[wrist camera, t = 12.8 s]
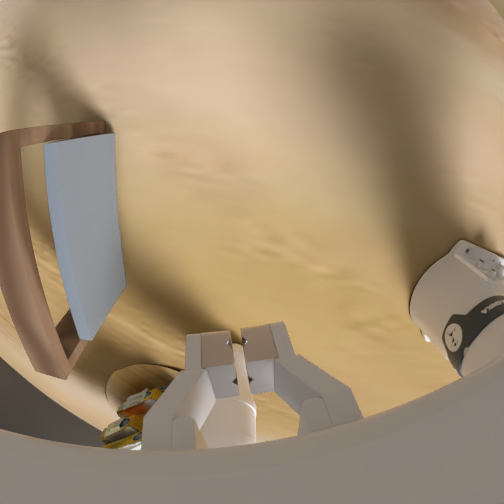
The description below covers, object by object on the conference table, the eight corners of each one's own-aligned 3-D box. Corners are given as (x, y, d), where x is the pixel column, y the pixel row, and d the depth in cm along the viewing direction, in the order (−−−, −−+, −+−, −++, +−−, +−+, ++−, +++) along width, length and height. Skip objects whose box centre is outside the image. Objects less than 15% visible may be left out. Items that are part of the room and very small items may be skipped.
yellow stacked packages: (84, 376, 48) (53, 441, 33) (185, 349, 44) (166, 438, 29) (155, 441, 57) (143, 500, 42) (250, 426, 53) (251, 497, 38)
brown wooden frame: (105, 121, 30) (7, 131, 14) (119, 292, 40) (66, 380, 24) (76, 124, 30) (-25, 140, 14) (93, 289, 40) (35, 371, 24)
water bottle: (233, 376, 47) (229, 517, 24) (199, 355, 45) (176, 503, 22) (264, 353, 45) (273, 506, 22) (228, 330, 42) (217, 494, 20)
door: (114, 133, 30) (57, 142, 19) (126, 285, 38) (91, 341, 27) (103, 134, 30) (43, 144, 19) (116, 284, 38) (79, 338, 27)
